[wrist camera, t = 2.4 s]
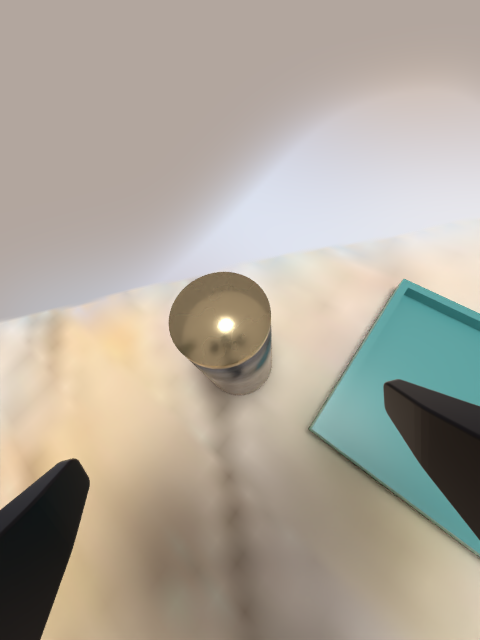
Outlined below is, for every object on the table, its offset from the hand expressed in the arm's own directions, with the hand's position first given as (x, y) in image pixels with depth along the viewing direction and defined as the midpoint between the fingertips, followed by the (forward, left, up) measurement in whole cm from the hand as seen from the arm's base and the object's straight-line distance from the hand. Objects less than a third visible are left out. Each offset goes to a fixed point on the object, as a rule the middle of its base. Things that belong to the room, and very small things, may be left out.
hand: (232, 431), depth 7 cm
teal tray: (+10, -10, -13) cm, 18 cm away
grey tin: (+4, +4, -13) cm, 14 cm away
